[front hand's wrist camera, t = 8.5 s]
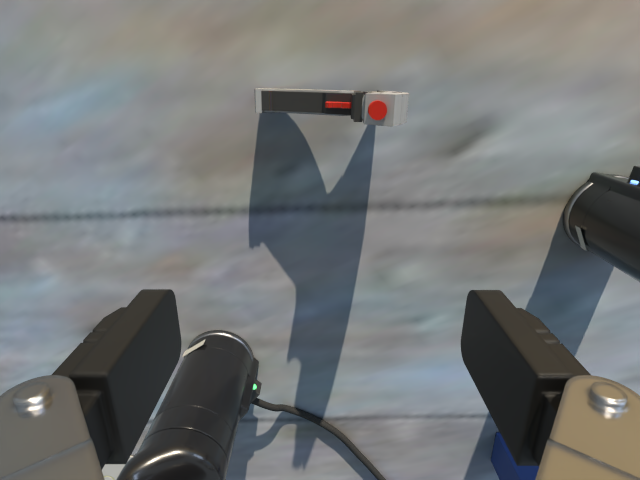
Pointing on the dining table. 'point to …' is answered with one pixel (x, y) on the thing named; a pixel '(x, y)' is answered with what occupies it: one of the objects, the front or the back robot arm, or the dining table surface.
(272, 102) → the toy gun
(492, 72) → the dining table surface
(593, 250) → the back robot arm
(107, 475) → the invitation card
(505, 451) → the block
